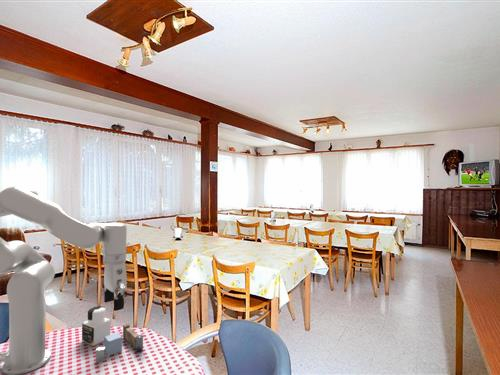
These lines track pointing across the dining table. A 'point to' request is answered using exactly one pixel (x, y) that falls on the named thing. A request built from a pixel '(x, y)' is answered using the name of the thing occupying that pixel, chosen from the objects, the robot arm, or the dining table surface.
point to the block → (113, 343)
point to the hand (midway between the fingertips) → (113, 305)
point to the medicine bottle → (95, 326)
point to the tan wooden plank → (129, 335)
